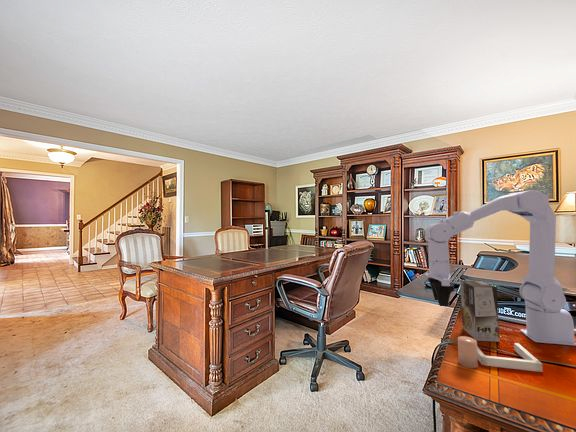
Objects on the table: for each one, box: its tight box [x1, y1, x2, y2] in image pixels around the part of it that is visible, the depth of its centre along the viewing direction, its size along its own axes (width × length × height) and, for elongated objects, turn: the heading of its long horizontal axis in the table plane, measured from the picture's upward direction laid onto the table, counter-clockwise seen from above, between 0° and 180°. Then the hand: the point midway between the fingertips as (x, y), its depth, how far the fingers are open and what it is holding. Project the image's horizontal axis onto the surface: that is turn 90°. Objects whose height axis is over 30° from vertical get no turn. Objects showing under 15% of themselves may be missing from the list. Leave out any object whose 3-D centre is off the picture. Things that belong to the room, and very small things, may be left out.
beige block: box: [457, 335, 479, 369], centre depth 65 cm, size 4×4×6 cm
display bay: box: [477, 342, 543, 373], centre depth 67 cm, size 12×10×2 cm
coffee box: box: [459, 279, 500, 343], centre depth 80 cm, size 9×6×16 cm
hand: (440, 302), depth 82 cm, fingers open, 5 cm apart
